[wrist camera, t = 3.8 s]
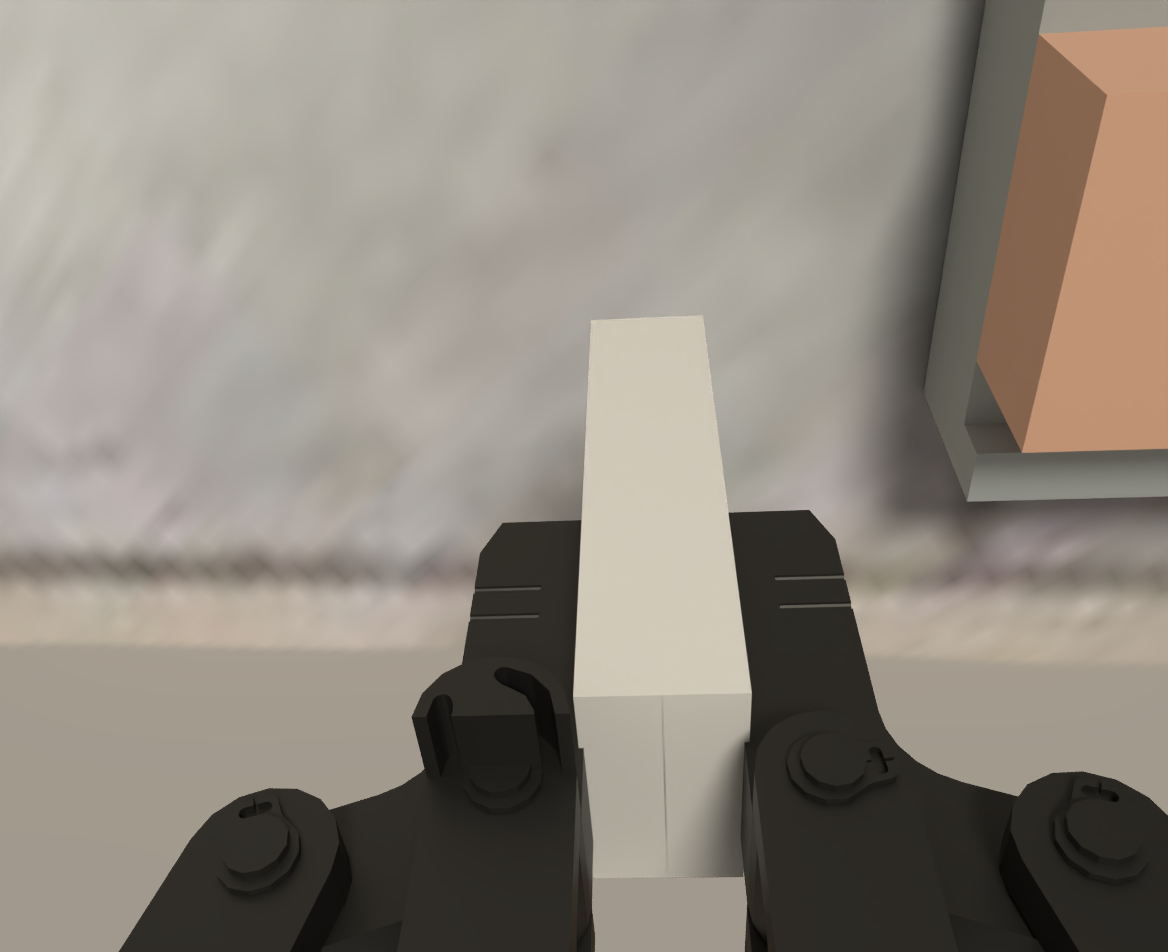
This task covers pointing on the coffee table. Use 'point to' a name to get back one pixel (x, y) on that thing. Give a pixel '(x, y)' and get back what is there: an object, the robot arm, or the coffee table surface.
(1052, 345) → the block
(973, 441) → the trap box
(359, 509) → the coffee table surface
